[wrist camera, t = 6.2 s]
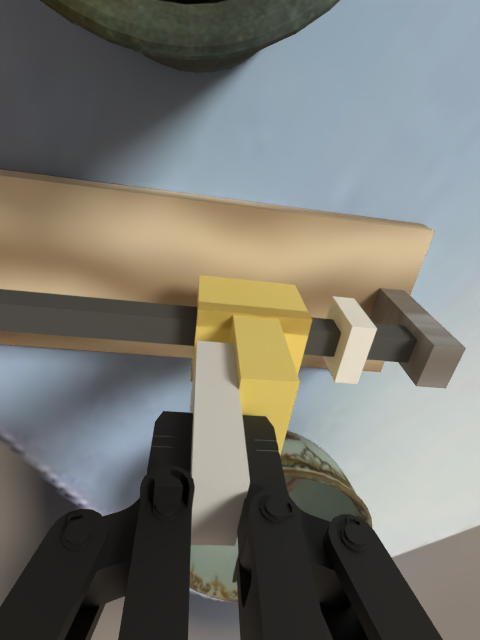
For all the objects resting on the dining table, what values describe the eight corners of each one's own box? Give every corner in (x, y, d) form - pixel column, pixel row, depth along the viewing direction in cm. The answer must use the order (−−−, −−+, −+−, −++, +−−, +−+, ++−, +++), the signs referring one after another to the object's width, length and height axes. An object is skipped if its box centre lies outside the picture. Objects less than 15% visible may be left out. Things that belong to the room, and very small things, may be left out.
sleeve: (199, 275, 20) (195, 372, 12) (295, 284, 20) (343, 382, 13) (193, 338, 21) (186, 456, 14) (281, 345, 22) (317, 461, 15)
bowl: (292, 517, 37) (312, 614, 30) (152, 489, 33) (138, 591, 26) (367, 412, 31) (414, 502, 24) (208, 366, 27) (208, 455, 20)
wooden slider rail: (-86, 158, 20) (-246, 187, 13) (422, 224, 23) (513, 274, 16) (-45, 327, 24) (-146, 415, 17) (372, 359, 28) (426, 443, 21)
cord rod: (-90, 280, 17) (-113, 293, 16) (406, 326, 21) (419, 339, 19) (-82, 308, 18) (-103, 322, 17) (397, 348, 21) (409, 362, 20)
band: (332, 296, 20) (352, 326, 18) (354, 298, 21) (377, 328, 18) (318, 347, 22) (334, 382, 19) (338, 348, 22) (357, 383, 19)
